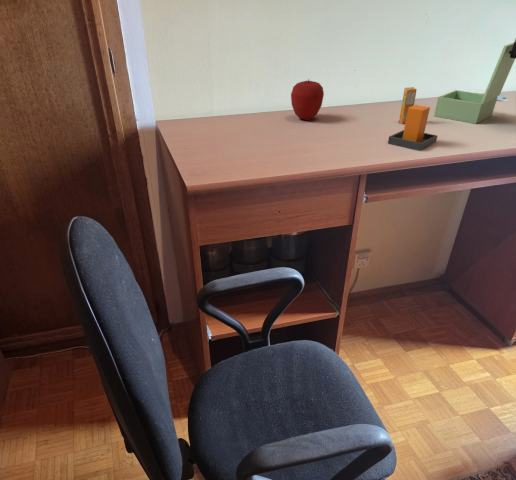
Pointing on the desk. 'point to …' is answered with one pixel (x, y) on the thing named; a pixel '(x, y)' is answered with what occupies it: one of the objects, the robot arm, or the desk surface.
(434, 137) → the tray
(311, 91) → the apple
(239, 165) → the desk surface
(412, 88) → the supplement box
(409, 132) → the orange block
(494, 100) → the box
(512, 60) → the lunchbox lid
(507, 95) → the desk surface
